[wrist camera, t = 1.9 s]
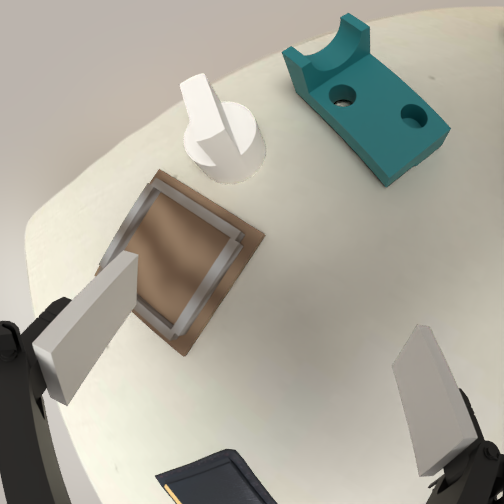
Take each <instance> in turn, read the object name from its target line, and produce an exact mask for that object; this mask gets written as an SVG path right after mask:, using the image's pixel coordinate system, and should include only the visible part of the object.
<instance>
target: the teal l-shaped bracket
mask: <svg viewBox="0 0 504 504" xmlns="http://www.w3.org/2000/svg"><path fill="white" fill-rule="evenodd" d="M340 19H341V22H340V27H339V30H338V32H337V34H336V36H335V37H334V39H333V40H332V41H331V43H330V44H329V45H328V46H326V47H325V48H324V49H323V50H321V51H319V52H317V53H315V54H312V55H307V56H304V55H302V54H301V53H300V52H299V51H297V50H296V49H295V48H293V47H292V46H291V47H289V48H287V49H286V50H284V51H283V52H282V54H283V57H284V60H285V62H286V65H287V68H288V71H289V73H290V76H291V79H292V82H293V85H294V88H295V91H296V93H297V94H298V95H300V96H301V97H302V98H303V99H304V100H305V101H306V102H307V103H308V104H309V105H310V106H311V107H312V108H313V109H314V110H315V111H316V112H317V113H318V114H319V115H320V116H321V117H322V118H323V119H324V120H325V121H326V122H327V123H328V124H329V125H330V126H331V127H332V128H333V129H334V130H335V131H336V132H337V133H338V134H339V135H340V136H341V137H342V138H343V139H344V140H345V141H346V142H347V144H348V145H349V146H350V147H351V148H352V149H353V150H354V151H355V152H356V153H357V154H358V156H359V157H360V158H361V159H362V160H363V161H364V162H365V163H366V165H367V166H368V167H369V168H370V169H371V170H372V171H373V173H374V174H375V175H376V176H377V177H378V178H379V180H380V181H381V182H382V183H383V184H384V186H385V187H388V186H389V185H390V184H391V183H393V182H394V181H395V180H396V179H398V178H399V177H400V176H401V175H403V174H404V173H405V172H406V171H408V170H409V169H410V168H411V167H413V166H417V165H418V164H419V163H421V162H422V161H423V160H424V159H426V158H427V157H428V156H429V155H430V154H432V153H433V152H434V151H435V150H437V149H438V148H439V147H440V146H441V145H442V144H443V142H444V140H445V138H446V137H447V135H448V133H449V131H450V129H451V128H450V127H449V126H448V125H447V124H446V122H445V121H444V120H443V119H442V118H441V117H440V116H439V115H438V114H437V113H436V112H435V111H434V110H433V109H432V108H431V107H430V106H429V105H428V104H427V103H426V102H425V101H424V100H423V99H422V98H421V97H420V96H419V95H418V94H417V93H415V92H414V91H413V90H412V89H411V88H410V87H409V86H408V85H407V84H406V83H405V82H403V81H402V80H401V79H400V78H399V77H398V76H397V75H395V74H394V73H393V72H392V71H391V70H390V69H388V68H387V67H386V66H385V65H384V64H382V63H381V62H380V61H379V60H377V59H376V58H375V57H374V56H372V55H371V54H370V27H369V26H368V25H366V24H365V23H363V22H362V21H360V20H359V19H357V18H356V17H354V16H353V15H351V14H349V13H347V14H346V15H344V16H342V17H341V18H340ZM341 99H346V100H349V101H351V102H353V104H352V105H350V106H346V107H340V106H337V105H335V104H333V103H334V102H336V101H337V100H341Z"/></svg>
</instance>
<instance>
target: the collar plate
mask: <svg viewBox="0 0 504 504" xmlns="http://www.w3.org/2000/svg"><path fill="white" fill-rule="evenodd" d="M265 236H266V235H265V234H263V233H262V232H260V231H259V230H257V229H255V228H254V227H252V226H251V225H249V224H247V223H246V222H244V221H243V220H241V219H239V218H238V217H236V216H235V215H233V214H231V213H230V212H228V211H227V210H225V209H223V208H222V207H220V206H219V205H217V204H215V203H214V202H212V201H211V200H209V199H207V198H206V197H204V196H202V195H201V194H199V193H198V192H196V191H194V190H193V189H191V188H189V187H188V186H186V185H184V184H183V183H181V182H180V181H178V180H176V179H175V178H173V177H171V176H170V175H168V174H166V173H165V172H163V171H161V170H160V169H159V170H158V171H157V173H156V174H155V176H154V177H153V179H152V180H151V182H150V183H148V184H147V185H146V187H145V188H144V190H143V191H142V193H141V194H140V196H139V197H138V199H137V201H136V202H135V204H134V205H133V207H132V208H131V210H130V212H129V213H128V215H127V217H126V218H125V220H124V221H123V223H122V225H121V226H120V228H119V230H118V231H117V233H116V235H115V237H114V238H113V240H112V242H111V243H110V245H109V247H108V249H107V250H106V252H105V254H104V256H103V258H102V259H101V261H100V263H99V265H100V266H99V268H98V270H97V271H96V273H95V276H97V275H98V274H99V273H100V272H101V271H102V270H103V269H104V268H105V267H106V266H107V265H108V264H109V263H110V262H111V261H112V260H113V259H115V258H116V257H117V256H118V255H119V254H120V253H121V252H122V251H123V250H124V251H128V252H131V253H135V254H138V272H137V300H136V306H135V307H134V308H133V310H132V312H133V313H134V314H135V315H136V316H137V317H138V318H139V319H140V320H142V321H143V322H144V323H145V324H146V325H147V326H148V327H149V328H150V329H152V330H153V331H154V332H155V333H156V334H157V335H158V336H160V337H161V338H162V339H163V340H164V341H165V342H167V343H168V344H169V345H170V346H171V347H173V348H174V349H175V350H176V351H177V352H179V353H180V354H181V355H182V356H186V355H187V353H188V352H189V350H190V349H191V347H192V346H193V344H194V343H195V341H196V340H197V338H198V337H199V335H200V334H201V332H202V331H203V329H204V328H205V326H206V325H207V323H208V322H209V320H210V319H211V317H212V316H213V314H214V313H215V311H216V310H217V308H218V307H219V305H220V304H221V302H222V301H223V299H224V298H225V296H226V295H227V293H228V292H229V290H230V288H231V287H232V285H233V284H234V282H235V281H236V279H237V278H238V276H239V275H240V273H241V272H242V270H243V269H244V267H245V266H246V264H247V263H248V261H249V260H250V258H251V257H252V255H253V254H254V252H255V251H256V249H257V248H258V246H259V245H260V243H261V242H262V240H263V239H264V237H265Z"/></svg>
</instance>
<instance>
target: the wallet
mask: <svg viewBox="0 0 504 504" xmlns="http://www.w3.org/2000/svg"><path fill="white" fill-rule="evenodd" d="M155 477H156V479H157V480H158V481H159V483H160V484H161V486H162V487H163V488H164V490H165V491H166V492H167V493H168V495H169V496H170V497H171V498H172V499H173V501H174V502H175V503H176V504H277V502H276V501H275V500H274V499H273V498H272V497H271V495H270V494H269V493H268V491H267V490H266V489H265V488H264V486H263V485H262V484H261V482H260V481H259V480H258V478H257V477H256V476H255V475H254V473H253V472H252V470H251V469H250V468H249V466H248V465H247V463H246V462H245V460H244V459H243V458H242V457H241V456H240V455H239V453H238V452H237V451H236V450H232V449H225V450H222V451H219V452H217V453H214V454H212V455H209V456H207V457H205V458H202V459H200V460H198V461H195V462H193V463H190V464H187V465H184V466H182V467H179V468H176V469H173V470H170V471H167V472H164V473H162V474H159V475H155Z"/></svg>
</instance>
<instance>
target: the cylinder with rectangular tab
mask: <svg viewBox="0 0 504 504" xmlns="http://www.w3.org/2000/svg"><path fill="white" fill-rule="evenodd" d="M180 88H181V91H182V95H183V99H184V102H185V106H186V109H187V112H188V116H189V119H190V122H189V123H188V126H187V128H186V130H185V134H184V148H185V150H186V152H187V154H188V155H189V156H190V158H191V159H192V160H193V161H194V162H195V163H196V164H197V165H198V166H199V167H200V168H201V169H202V170H203V171H204V172H205V173H206V174H207V175H208V176H209V177H210V179H212V180H214V181H216V182H217V183H222V184H237V183H240V182H243V181H245V180H247V179H249V178H251V177H252V176H253V175H254V174H255V173H256V172H258V170H259V169H260V167H261V166H262V164H263V162H264V159H265V156H266V146H265V142H264V139H263V137H262V134H261V132H260V129H259V127H258V125H257V122H256V120H255V118H254V116H253V114H252V113H251V111H250V110H249V109H247V108H246V107H245V106H244V105H241V104H239V103H236V102H228V101H226V102H221V101H220V100H219V98H218V96H217V94H216V93H215V91H214V89H213V87H212V86H211V84H210V82H209V81H208V79H207V77H206V75H205V74H204V73H202V74H199V75H196V76H193V77H191V78H189V79H187V80H185V81H184V82H182V83H181V84H180Z"/></svg>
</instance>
